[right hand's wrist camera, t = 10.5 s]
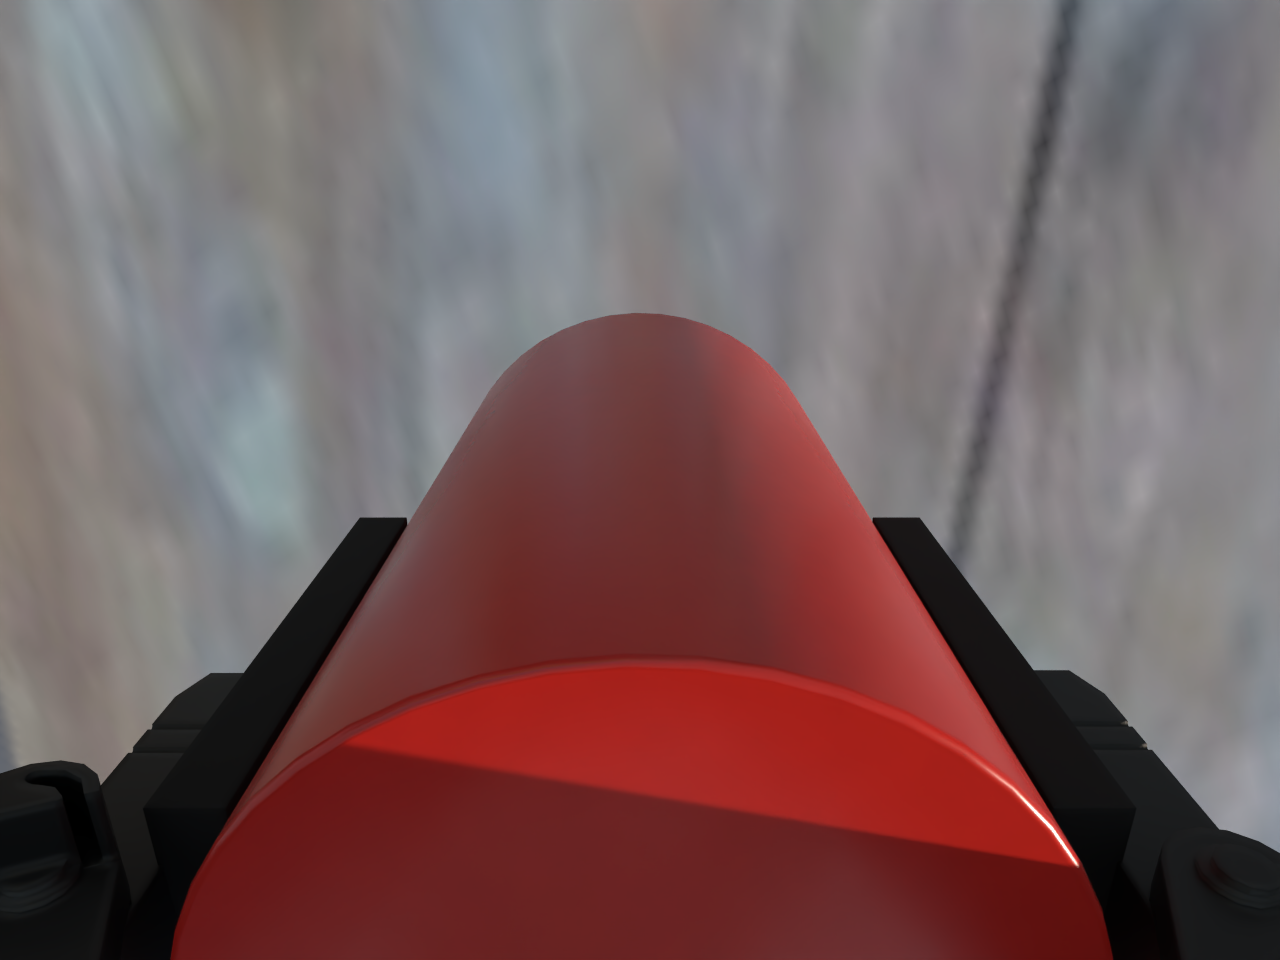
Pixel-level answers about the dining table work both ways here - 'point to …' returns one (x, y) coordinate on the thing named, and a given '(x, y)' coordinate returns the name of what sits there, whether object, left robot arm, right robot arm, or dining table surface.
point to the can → (641, 709)
